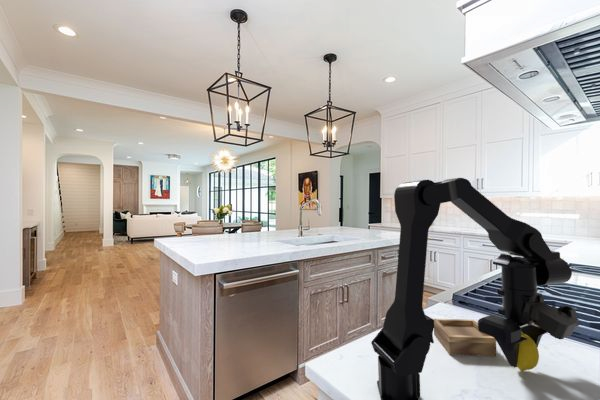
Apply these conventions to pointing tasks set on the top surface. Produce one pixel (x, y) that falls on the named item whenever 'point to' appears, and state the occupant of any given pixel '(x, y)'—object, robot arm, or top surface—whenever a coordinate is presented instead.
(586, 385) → the top surface
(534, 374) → the top surface
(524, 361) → the lemon
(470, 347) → the tan open box
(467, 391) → the top surface
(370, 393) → the top surface
